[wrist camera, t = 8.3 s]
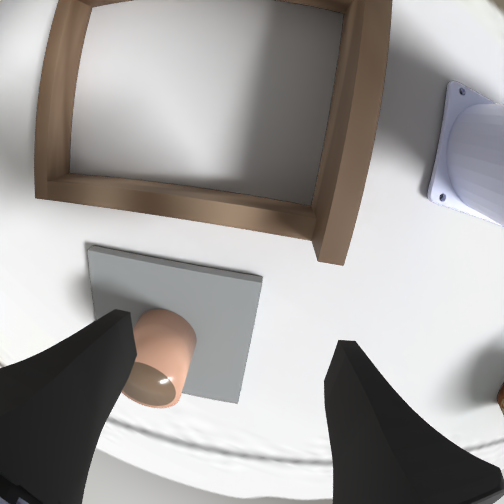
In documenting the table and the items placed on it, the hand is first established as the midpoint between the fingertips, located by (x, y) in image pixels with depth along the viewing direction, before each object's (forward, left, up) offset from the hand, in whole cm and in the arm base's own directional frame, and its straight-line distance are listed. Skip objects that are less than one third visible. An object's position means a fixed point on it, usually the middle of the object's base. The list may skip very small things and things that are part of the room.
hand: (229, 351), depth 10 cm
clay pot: (+5, +8, -9) cm, 12 cm away
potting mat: (+5, +8, -9) cm, 13 cm away
